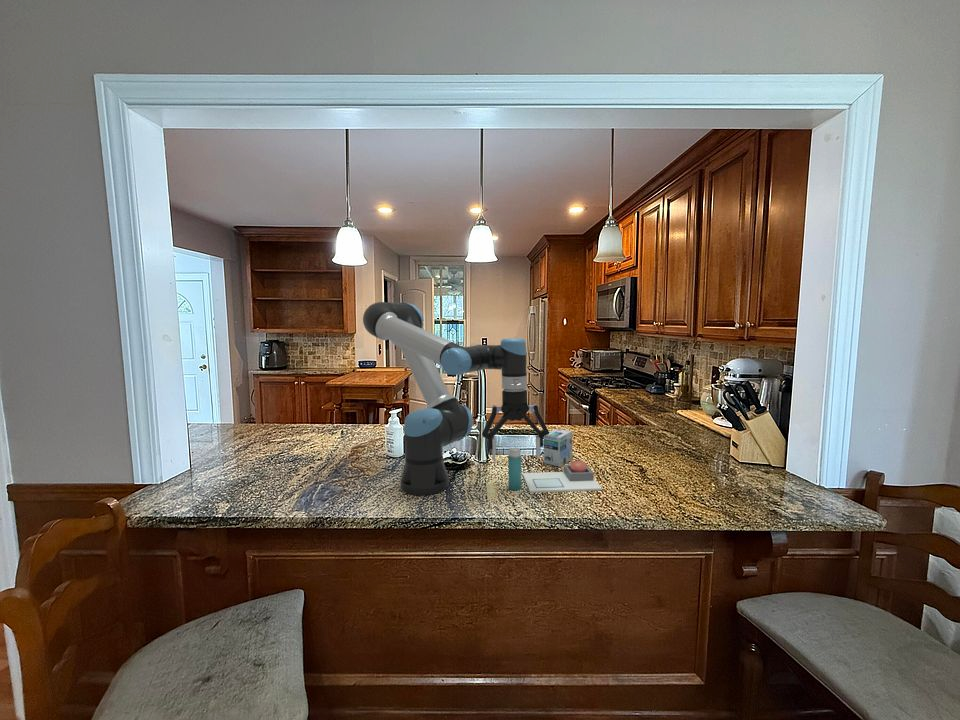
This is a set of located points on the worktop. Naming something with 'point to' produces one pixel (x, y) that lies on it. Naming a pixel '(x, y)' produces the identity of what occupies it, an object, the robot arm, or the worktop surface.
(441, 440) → the robot arm
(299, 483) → the worktop surface
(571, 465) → the button
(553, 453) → the light bulb box
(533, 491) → the page board
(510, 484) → the teal bottle
